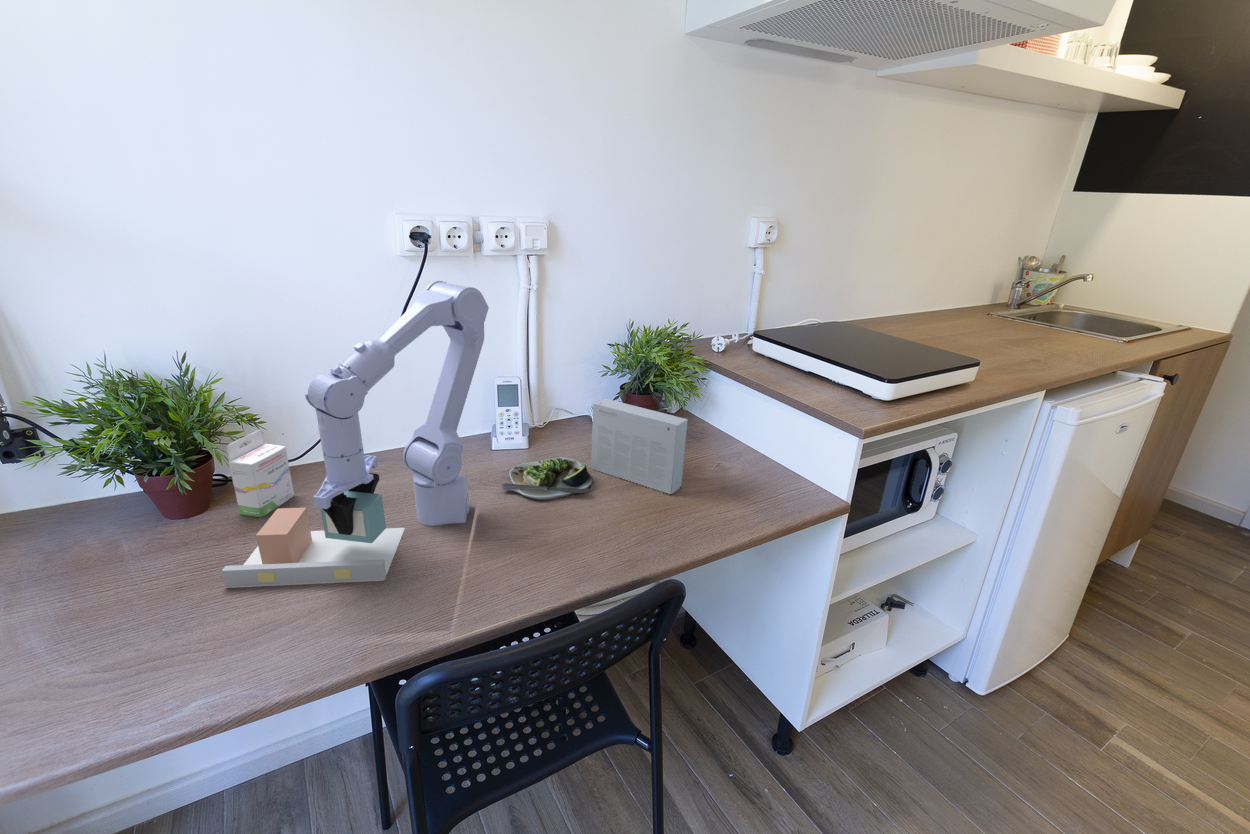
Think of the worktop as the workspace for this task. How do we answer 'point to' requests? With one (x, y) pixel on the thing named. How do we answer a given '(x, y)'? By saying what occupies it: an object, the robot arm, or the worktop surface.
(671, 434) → the skincare box
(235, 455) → the ink box
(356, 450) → the robot arm
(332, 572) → the shelf board
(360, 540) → the teal carton
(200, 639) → the worktop surface
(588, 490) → the salad plate
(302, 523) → the terracotta carton
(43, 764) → the worktop surface
